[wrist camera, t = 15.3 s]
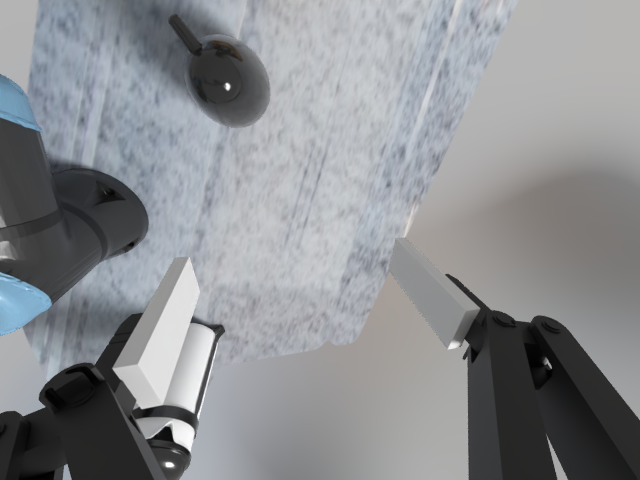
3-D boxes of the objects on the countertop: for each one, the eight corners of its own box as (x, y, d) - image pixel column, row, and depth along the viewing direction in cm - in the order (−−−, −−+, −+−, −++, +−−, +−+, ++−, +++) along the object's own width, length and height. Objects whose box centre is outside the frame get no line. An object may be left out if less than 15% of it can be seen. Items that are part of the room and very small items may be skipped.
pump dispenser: (239, 26, 32) (211, -33, 19) (284, 101, 37) (287, 96, 24) (182, 72, 33) (120, 48, 20) (233, 139, 38) (210, 154, 25)
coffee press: (144, 317, 53) (14, 517, 27) (217, 306, 54) (161, 484, 29) (172, 364, 61) (95, 549, 35) (235, 353, 63) (204, 522, 37)
